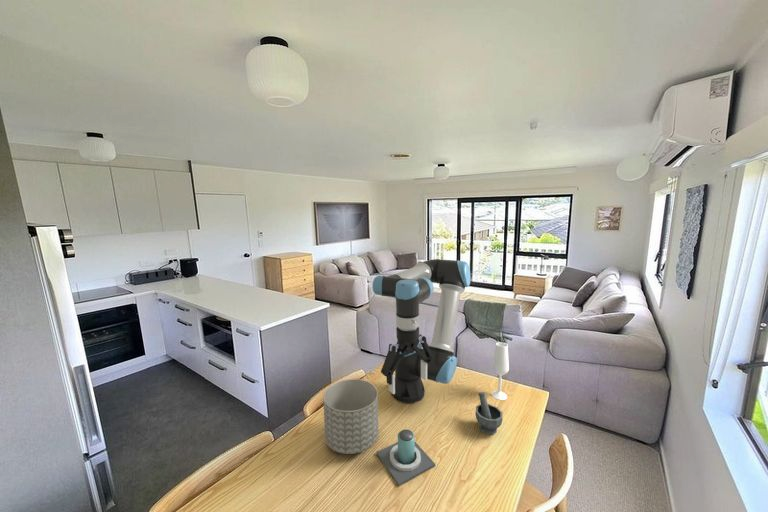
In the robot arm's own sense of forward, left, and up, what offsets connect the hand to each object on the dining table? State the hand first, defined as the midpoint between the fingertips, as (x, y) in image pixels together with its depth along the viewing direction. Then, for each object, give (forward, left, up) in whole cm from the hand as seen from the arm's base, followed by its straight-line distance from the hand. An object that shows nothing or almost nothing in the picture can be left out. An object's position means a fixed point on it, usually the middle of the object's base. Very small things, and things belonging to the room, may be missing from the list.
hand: (408, 385), depth 101 cm
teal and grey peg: (+5, -5, -22) cm, 23 cm away
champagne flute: (-3, +52, -23) cm, 56 cm away
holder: (+5, -5, -22) cm, 23 cm away
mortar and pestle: (+8, +31, -23) cm, 39 cm away
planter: (-12, -16, -23) cm, 30 cm away
